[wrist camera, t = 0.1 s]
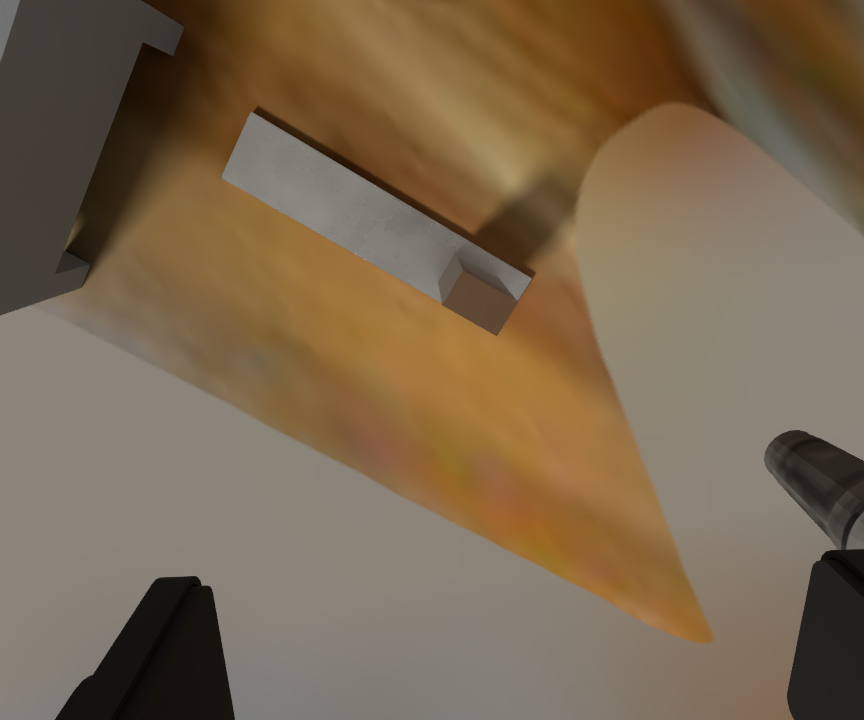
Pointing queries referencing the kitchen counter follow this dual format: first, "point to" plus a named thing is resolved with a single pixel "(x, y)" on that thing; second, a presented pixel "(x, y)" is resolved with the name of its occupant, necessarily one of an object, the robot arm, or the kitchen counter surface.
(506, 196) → the kitchen counter surface
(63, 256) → the cabinet
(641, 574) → the kitchen counter surface
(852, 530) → the dark grey bottle
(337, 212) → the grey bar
